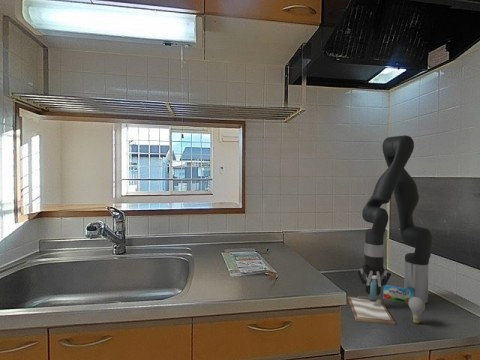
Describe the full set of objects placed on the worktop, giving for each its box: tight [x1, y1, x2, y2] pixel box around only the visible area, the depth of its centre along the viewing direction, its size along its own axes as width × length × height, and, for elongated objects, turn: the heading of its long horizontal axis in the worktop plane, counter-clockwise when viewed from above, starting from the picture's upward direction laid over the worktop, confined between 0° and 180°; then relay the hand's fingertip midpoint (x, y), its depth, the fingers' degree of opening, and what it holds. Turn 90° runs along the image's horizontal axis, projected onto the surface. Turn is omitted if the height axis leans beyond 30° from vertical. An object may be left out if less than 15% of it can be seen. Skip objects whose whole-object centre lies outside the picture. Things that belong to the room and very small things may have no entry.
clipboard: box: [347, 295, 396, 326], centre depth 120 cm, size 20×14×2 cm
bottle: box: [367, 275, 378, 302], centre depth 122 cm, size 3×3×11 cm
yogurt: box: [382, 284, 414, 305], centre depth 129 cm, size 12×2×6 cm, turn 61°
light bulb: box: [408, 297, 426, 324], centre depth 110 cm, size 6×6×10 cm
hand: (372, 293), depth 122 cm, fingers closed on bottle, 3 cm apart
